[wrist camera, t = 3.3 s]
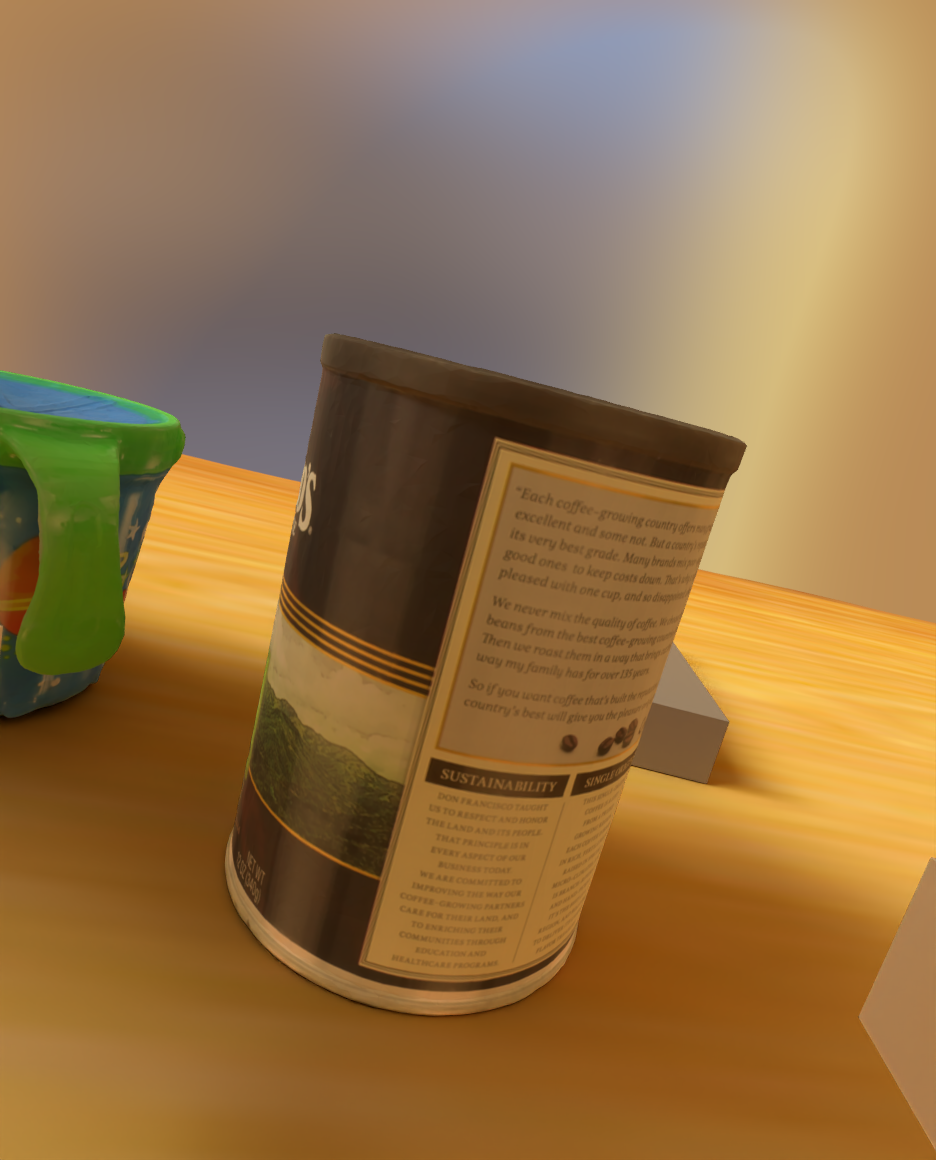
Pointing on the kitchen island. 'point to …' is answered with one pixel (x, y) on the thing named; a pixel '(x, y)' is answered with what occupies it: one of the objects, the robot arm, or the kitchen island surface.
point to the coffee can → (459, 673)
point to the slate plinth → (681, 725)
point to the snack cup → (70, 529)
